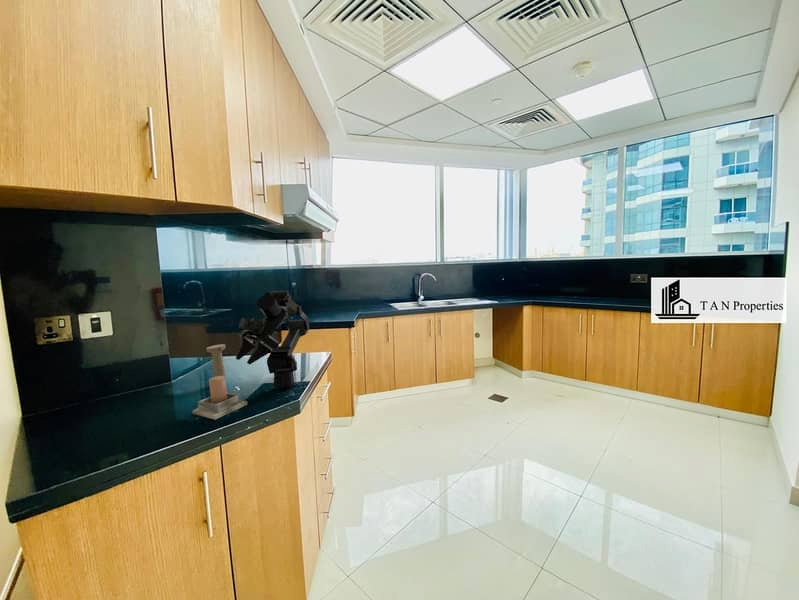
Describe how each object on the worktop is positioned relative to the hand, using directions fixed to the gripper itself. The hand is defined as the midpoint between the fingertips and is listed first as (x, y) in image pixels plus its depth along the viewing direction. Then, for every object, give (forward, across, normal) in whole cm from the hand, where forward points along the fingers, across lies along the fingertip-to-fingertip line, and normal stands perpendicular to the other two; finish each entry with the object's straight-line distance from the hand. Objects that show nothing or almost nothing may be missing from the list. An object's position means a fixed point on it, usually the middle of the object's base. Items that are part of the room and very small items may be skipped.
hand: (242, 361), depth 106 cm
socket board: (+15, -1, +4) cm, 16 cm away
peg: (+14, -1, +4) cm, 15 cm away
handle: (+9, -26, +10) cm, 30 cm away
